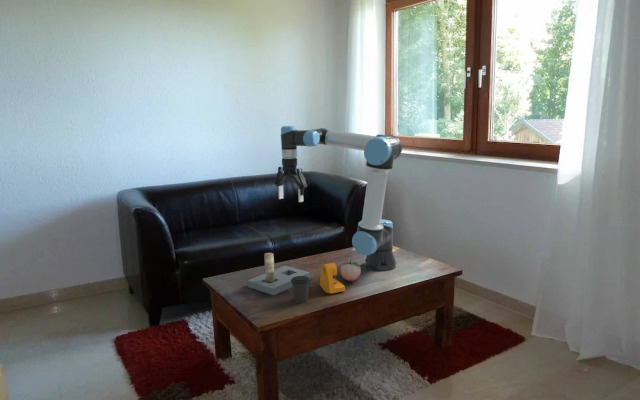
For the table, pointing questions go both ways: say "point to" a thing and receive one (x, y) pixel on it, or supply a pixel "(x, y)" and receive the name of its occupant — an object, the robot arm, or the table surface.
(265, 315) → the table surface
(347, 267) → the decorative fruit
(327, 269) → the bracket
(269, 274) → the maple leg
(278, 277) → the stool seat
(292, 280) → the coffee cup
